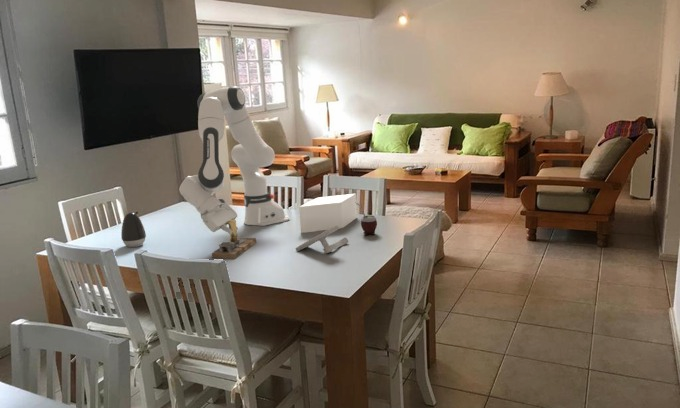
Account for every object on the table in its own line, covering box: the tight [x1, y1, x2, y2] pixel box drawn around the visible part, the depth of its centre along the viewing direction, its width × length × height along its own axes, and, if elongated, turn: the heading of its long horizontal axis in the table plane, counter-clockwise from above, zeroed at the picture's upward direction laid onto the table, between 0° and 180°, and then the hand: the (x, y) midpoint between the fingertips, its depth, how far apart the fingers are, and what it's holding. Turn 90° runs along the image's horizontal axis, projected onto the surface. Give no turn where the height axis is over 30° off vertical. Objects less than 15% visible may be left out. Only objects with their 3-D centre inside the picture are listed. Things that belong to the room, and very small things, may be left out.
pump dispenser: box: [121, 211, 147, 248], centre depth 251 cm, size 10×10×15 cm
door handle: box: [295, 225, 349, 254], centre depth 233 cm, size 18×8×20 cm
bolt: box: [225, 219, 239, 249], centre depth 235 cm, size 10×3×10 cm, turn 166°
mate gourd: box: [355, 201, 378, 237], centre depth 249 cm, size 8×8×15 cm
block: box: [298, 193, 358, 234], centre depth 269 cm, size 18×35×12 cm, turn 131°
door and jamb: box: [211, 237, 257, 260], centre depth 238 cm, size 22×10×5 cm, turn 166°
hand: (234, 231), depth 236 cm, fingers closed on bolt, 3 cm apart
